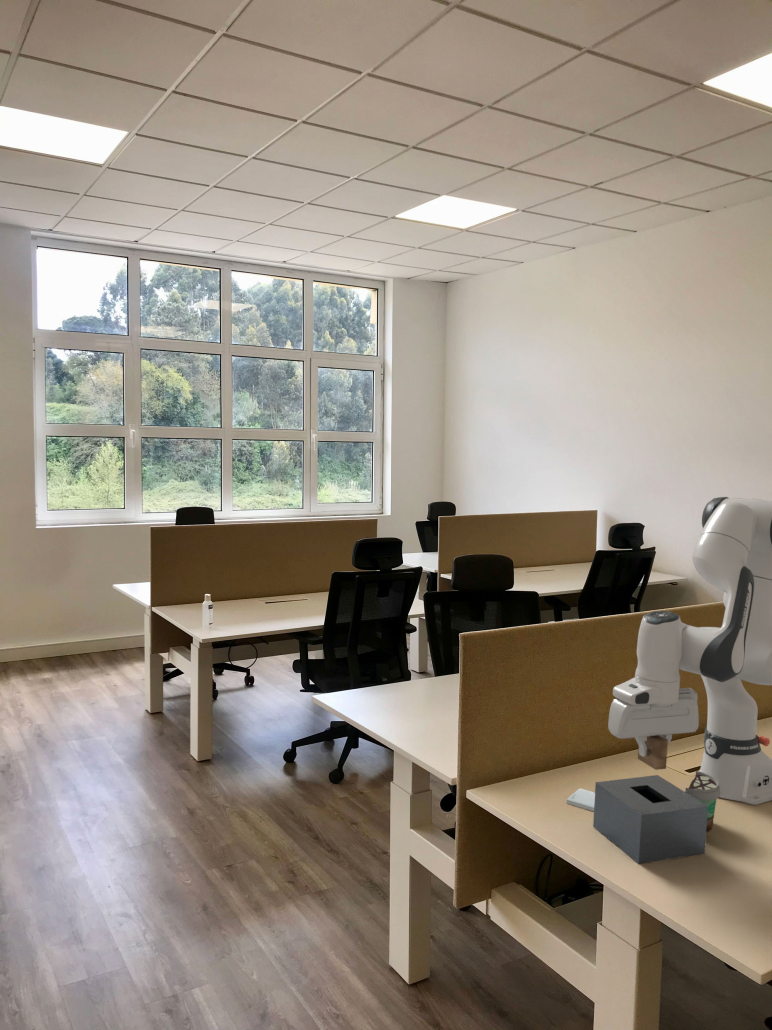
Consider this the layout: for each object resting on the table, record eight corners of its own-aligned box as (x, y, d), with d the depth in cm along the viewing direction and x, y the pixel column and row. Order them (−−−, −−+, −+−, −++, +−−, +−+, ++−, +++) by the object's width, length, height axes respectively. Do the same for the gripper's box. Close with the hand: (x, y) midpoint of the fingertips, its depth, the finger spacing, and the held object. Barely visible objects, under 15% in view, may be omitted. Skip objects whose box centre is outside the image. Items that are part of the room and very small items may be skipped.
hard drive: (566, 798, 183) (619, 814, 176) (579, 787, 190) (631, 801, 182) (566, 805, 183) (618, 821, 176) (579, 794, 190) (630, 808, 182)
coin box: (654, 818, 177) (657, 775, 176) (704, 853, 162) (707, 806, 161) (593, 826, 172) (595, 782, 171) (638, 863, 156) (641, 815, 156)
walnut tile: (647, 757, 168) (649, 730, 168) (665, 768, 163) (667, 740, 162) (637, 758, 168) (639, 731, 167) (655, 769, 162) (657, 741, 162)
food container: (712, 841, 167) (715, 795, 166) (682, 833, 170) (685, 788, 169) (722, 819, 177) (725, 776, 176) (693, 812, 180) (696, 770, 180)
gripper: (687, 683, 170) (683, 745, 171) (606, 688, 164) (602, 753, 165) (708, 691, 164) (703, 756, 165) (624, 697, 158) (620, 764, 159)
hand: (652, 754), depth 165 cm, fingers closed on walnut tile, 2 cm apart
